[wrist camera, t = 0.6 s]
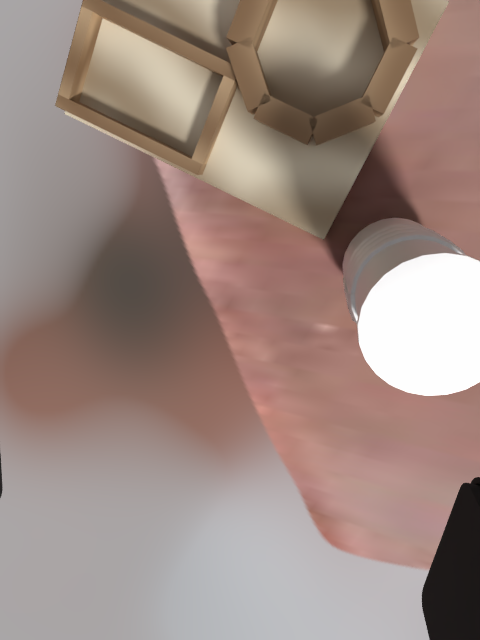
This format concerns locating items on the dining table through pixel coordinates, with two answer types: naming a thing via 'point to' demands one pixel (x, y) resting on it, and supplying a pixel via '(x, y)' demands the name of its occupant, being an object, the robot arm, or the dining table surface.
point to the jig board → (296, 75)
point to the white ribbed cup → (414, 306)
